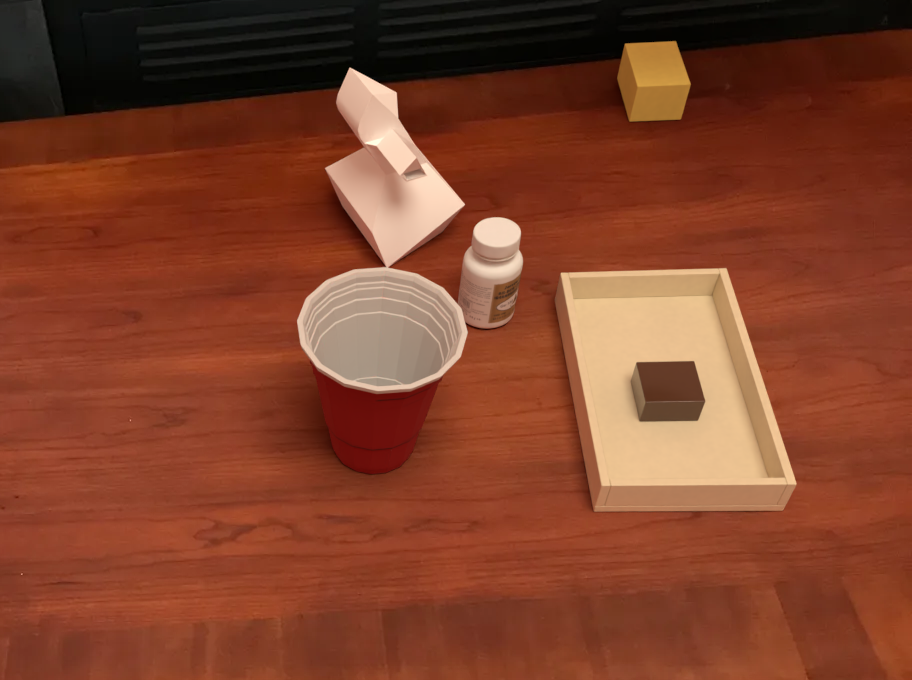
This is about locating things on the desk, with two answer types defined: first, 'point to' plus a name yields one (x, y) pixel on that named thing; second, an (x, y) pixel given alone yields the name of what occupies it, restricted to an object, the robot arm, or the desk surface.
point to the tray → (669, 442)
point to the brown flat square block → (667, 391)
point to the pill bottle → (491, 273)
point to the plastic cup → (379, 359)
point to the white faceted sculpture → (388, 175)
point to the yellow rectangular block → (653, 81)
